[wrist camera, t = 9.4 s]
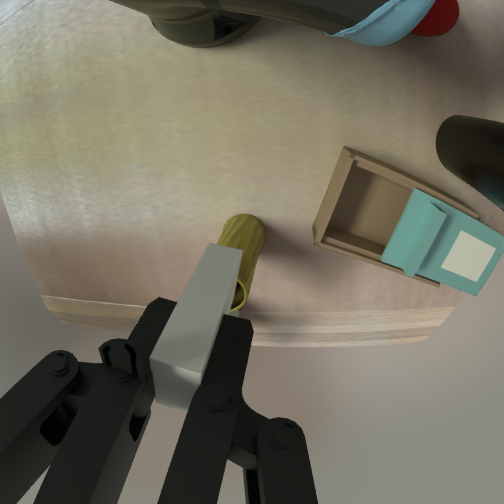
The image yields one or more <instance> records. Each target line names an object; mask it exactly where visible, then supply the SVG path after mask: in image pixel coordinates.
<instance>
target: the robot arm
mask: <svg viewBox="0 0 504 504" xmlns="http://www.w3.org/2000/svg"><path fill="white" fill-rule="evenodd" d="M110 1H113V2H115V3H118V4H121V5H124V6H126V7H129V8H131V9H134V10H137V11H139V12H141V13H144V14H146V15H149V18H150V21H151V22H152V24H153V26H154V27H155V29H156V30H157V31H158V32H159V33H160V34H162V35H163V36H164V37H166V38H167V39H169V40H171V41H173V42H176V43H179V44H181V45H184V46H189V47H196V48H205V47H213V46H218V45H222V44H225V43H228V42H230V41H232V40H234V39H236V38H238V37H240V36H241V35H243V34H244V33H246V32H247V31H248V30H249V29H250V28H251V27H252V26H253V25H254V24H255V23H256V22H257V21H258V19H259V18H260V16H262V17H268V18H272V19H277V20H282V21H286V22H290V23H295V24H299V25H302V26H306V27H310V28H313V29H317V30H320V31H323V33H324V34H326V35H327V36H330V37H342V38H345V39H349V40H352V41H355V42H358V43H361V44H364V45H367V46H373V47H376V46H387V45H390V44H392V43H395V42H397V41H398V40H400V39H402V38H403V37H404V36H406V35H407V34H408V33H409V32H410V31H412V30H413V29H414V28H415V27H416V26H417V24H418V23H419V22H420V21H421V20H422V19H423V18H424V16H425V15H426V14H427V12H428V11H429V10H430V8H431V7H432V5H433V4H434V2H435V0H110ZM242 253H243V250H238V249H234V248H230V247H226V246H221V245H217V244H213V243H209V245H208V247H207V248H206V250H205V252H204V254H203V256H202V258H201V259H200V261H199V263H198V265H197V267H196V269H195V271H194V272H193V274H192V276H191V278H190V280H189V282H188V284H187V286H186V287H185V289H184V291H183V293H182V295H181V297H180V299H179V301H178V302H174V301H171V300H167V299H164V298H160V297H158V298H157V299H156V300H154V301H153V302H151V303H150V304H149V305H148V306H147V308H146V309H145V311H144V313H143V315H142V316H141V318H140V319H139V321H138V324H136V326H135V328H134V329H133V331H132V333H131V334H130V336H129V338H128V339H127V340H126V339H120V338H119V339H111V340H109V341H107V342H105V343H103V344H102V345H101V346H100V348H99V352H100V355H101V359H102V362H103V363H86V362H78V361H77V359H76V358H75V356H74V355H73V354H72V353H70V352H68V351H63V350H58V351H53V352H51V353H50V354H48V355H47V356H46V357H44V358H43V359H42V360H41V361H40V362H39V363H38V364H37V365H36V366H34V367H33V368H32V369H31V370H30V371H29V372H28V373H27V374H26V375H25V376H24V377H23V378H22V379H21V380H19V381H18V382H17V383H16V384H15V385H14V386H13V387H12V388H11V389H10V390H9V391H8V392H7V393H6V394H5V395H4V396H3V397H2V398H1V399H0V504H17V502H18V501H19V500H20V499H21V498H22V497H23V496H24V494H25V493H26V492H27V491H28V490H29V489H30V487H31V486H32V485H33V484H34V483H35V482H36V481H37V479H38V478H39V477H40V476H41V475H42V474H43V473H44V471H45V470H46V469H47V468H48V467H49V466H50V467H49V469H48V472H47V474H46V476H45V478H44V480H43V483H42V485H41V487H40V489H39V492H38V494H37V496H36V499H35V501H34V503H33V504H117V502H118V499H119V497H120V494H121V491H122V488H123V486H124V483H125V481H126V478H127V475H128V473H129V470H130V467H131V465H132V462H133V460H134V457H135V454H136V452H137V449H138V447H139V444H140V441H141V439H142V436H143V434H144V431H145V429H146V426H147V424H148V421H149V419H150V415H151V409H150V407H151V404H152V402H153V400H154V397H155V402H156V403H158V404H160V405H163V406H166V407H169V408H173V409H176V410H179V411H182V412H186V413H187V415H186V418H185V421H184V424H183V427H182V430H181V433H180V436H179V439H178V442H177V445H176V448H175V451H174V454H173V457H172V460H171V463H170V466H169V469H168V472H167V475H166V478H165V481H164V485H163V488H162V491H161V494H160V497H159V500H158V503H157V504H217V500H218V496H219V492H220V488H221V483H222V479H223V474H224V471H225V466H226V462H227V459H228V460H230V461H232V462H234V463H235V464H237V465H239V466H241V467H243V476H244V487H245V497H246V504H318V501H317V496H316V490H315V485H314V480H313V475H312V470H311V465H310V460H309V455H308V450H307V445H306V440H305V435H304V433H303V431H302V428H301V427H300V426H299V425H297V423H296V422H294V421H292V420H290V419H288V418H280V417H277V418H273V419H268V418H266V417H264V416H262V415H260V414H258V413H256V412H255V411H254V410H252V409H251V408H250V407H249V406H248V405H247V404H246V402H245V401H244V399H243V396H242V385H243V380H244V376H245V371H246V366H247V362H248V357H249V352H250V347H251V342H252V337H253V333H254V331H253V328H252V324H251V321H250V320H247V319H243V318H239V317H235V316H231V315H229V311H230V308H231V305H232V302H233V299H234V294H235V289H236V284H237V278H238V273H239V268H240V263H241V258H242Z"/></svg>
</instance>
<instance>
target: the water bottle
mask: <svg viewBox="0 0 504 504" xmlns="http://www.w3.org/2000/svg"><path fill="white" fill-rule="evenodd" d="M436 150H437V154H438V157H439V159H440V161H441V163H442V164H443V166H444V167H445V168H446V169H447V170H449V171H450V172H452V173H453V174H455V175H456V176H458V177H459V178H461V179H462V180H463V181H465V182H466V183H468V184H469V185H470V186H472V187H473V188H475V189H476V190H477V191H479V192H480V193H481V194H483V195H484V196H485V197H487V198H488V199H489V200H490V201H492V202H493V203H494V204H495V205H497V206H498V207H499V208H500V209H502V210H503V211H504V123H502V122H497V121H492V120H486V119H481V118H475V117H468V116H461V115H455V116H451V117H449V118H448V119H446V120H445V121H444V122H443V123H442V124H441V126H440V128H439V130H438V133H437V137H436Z"/></svg>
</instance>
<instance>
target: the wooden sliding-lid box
mask: <svg viewBox="0 0 504 504" xmlns="http://www.w3.org/2000/svg"><path fill="white" fill-rule="evenodd" d="M414 187H415V188H417V189H419V190H421V191H423V192H425V193H427V194H429V195H432V196H434V197H436V198H437V199H439V200H441V201H443V202H445V203H447V204H449V205H451V206H453V207H455V208H457V209H459V210H460V211H462V212H464V213H466V214H468V215H469V216H471V217H473V218H474V217H476V218H478V216H479V215H478V214H477V213H476V212H475V211H474V210H472V209H471V208H470V207H469V206H467V205H466V204H465V203H464V202H462V201H461V200H459V199H457V198H455V197H453V196H451V195H450V194H448V193H446V192H444V191H442V190H440V189H438V188H436V187H434V186H432V185H430V184H429V183H427V182H425V181H422V180H420V179H418V178H416V177H414V176H412V175H410V174H408V173H406V172H404V171H402V170H399V169H397V168H395V167H393V166H391V165H388V164H386V163H384V162H381V161H379V160H377V159H374V158H372V157H370V156H367V155H365V154H362V153H360V152H357V151H355V150H352V149H350V148H347V147H345V146H343V149H342V151H341V154H340V157H339V160H338V162H337V165H336V168H335V170H334V173H333V176H332V178H331V181H330V184H329V186H328V189H327V191H326V194H325V197H324V199H323V202H322V204H321V207H320V210H319V212H318V215H317V217H316V220H315V222H314V225H313V238H314V245H317V246H320V247H323V248H326V249H329V250H332V251H335V252H338V253H341V254H344V255H347V256H350V257H353V258H356V259H359V260H362V261H365V262H368V263H371V264H374V265H377V266H380V267H382V268H385V269H388V270H391V271H394V272H397V273H400V274H403V275H405V273H404V271H403V269H402V268H399V267H396V266H394V265H391V264H388V263H385V262H382V261H381V259H380V258H381V256H382V254H383V252H384V250H385V248H386V246H387V244H388V242H389V240H390V238H391V236H392V234H393V232H394V230H395V228H396V226H397V224H398V222H399V220H400V218H401V216H402V214H403V211H404V209H405V207H406V205H407V203H408V201H409V198H410V196H411V194H412V192H413V189H414ZM405 276H408V275H405ZM408 277H410V276H408ZM411 278H414V279H417V280H420V281H422V282H425V283H428V284H431V285H434V286H436V287H439V286H440V283H439V282H438V281H435V280H432V279H429V278H427V277H424V276H421V275H419V274H416V273H415V275H414V277H411Z"/></svg>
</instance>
